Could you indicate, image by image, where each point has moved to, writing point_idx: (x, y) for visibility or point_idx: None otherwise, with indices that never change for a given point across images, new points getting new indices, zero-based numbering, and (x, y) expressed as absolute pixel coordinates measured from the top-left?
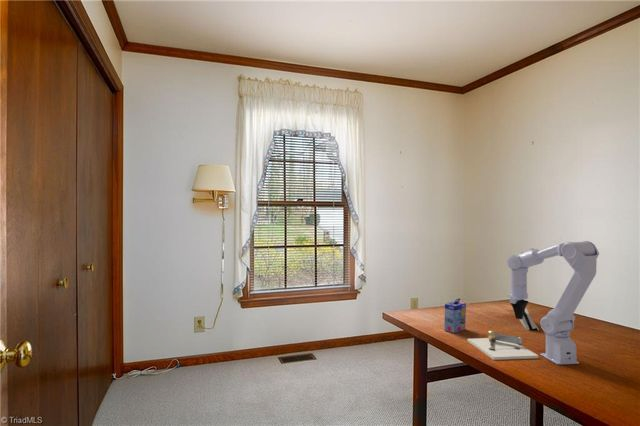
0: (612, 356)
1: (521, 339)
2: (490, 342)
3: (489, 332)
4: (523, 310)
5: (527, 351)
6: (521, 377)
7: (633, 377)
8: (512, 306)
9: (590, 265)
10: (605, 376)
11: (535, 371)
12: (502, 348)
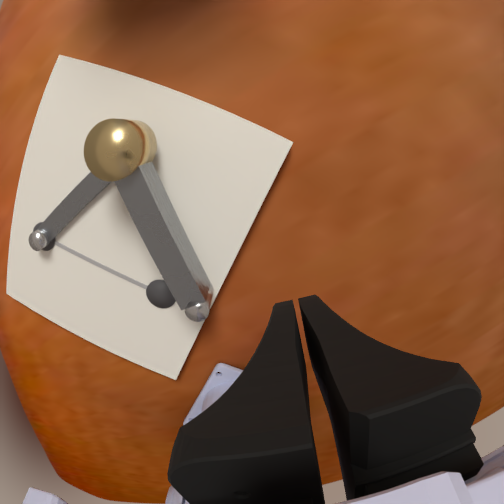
0: None
1: (196, 317)
2: (90, 173)
3: (85, 150)
4: (330, 419)
5: (173, 338)
6: (24, 389)
7: None
8: (223, 397)
9: None
10: None
11: (78, 400)
12: (94, 255)
